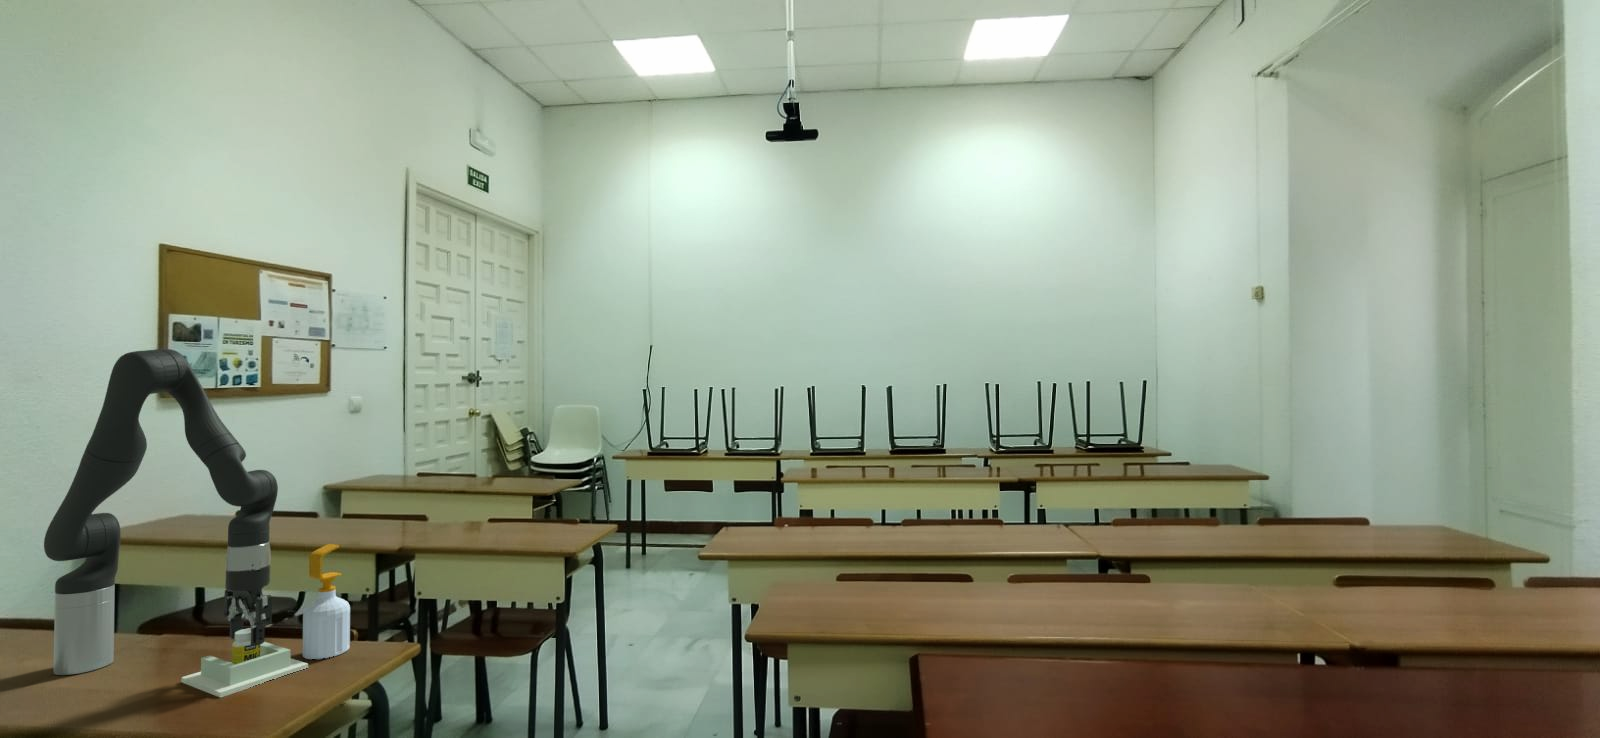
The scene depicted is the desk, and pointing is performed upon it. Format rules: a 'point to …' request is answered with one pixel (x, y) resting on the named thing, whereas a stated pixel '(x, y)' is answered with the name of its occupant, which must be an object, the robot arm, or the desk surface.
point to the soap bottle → (325, 614)
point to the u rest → (243, 671)
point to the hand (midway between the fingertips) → (246, 641)
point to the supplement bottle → (244, 647)
